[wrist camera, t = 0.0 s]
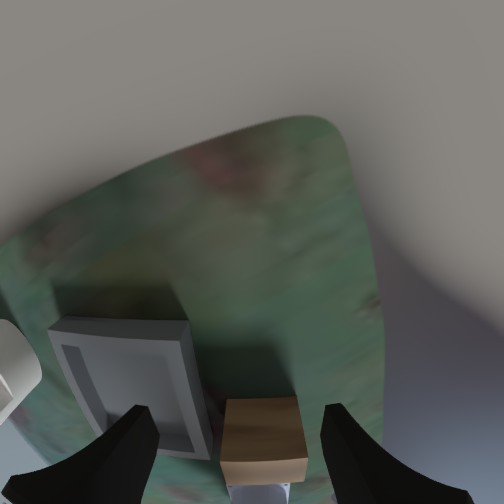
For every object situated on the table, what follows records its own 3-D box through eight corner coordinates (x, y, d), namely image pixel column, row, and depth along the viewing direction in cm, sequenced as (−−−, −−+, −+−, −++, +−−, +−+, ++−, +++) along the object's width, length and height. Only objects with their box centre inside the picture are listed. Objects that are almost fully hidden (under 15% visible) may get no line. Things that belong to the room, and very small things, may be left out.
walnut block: (294, 423, 22) (303, 481, 15) (231, 426, 22) (226, 484, 15) (296, 395, 21) (308, 457, 14) (226, 398, 21) (219, 461, 14)
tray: (213, 438, 22) (210, 460, 19) (110, 424, 22) (101, 441, 19) (189, 320, 19) (179, 340, 16) (65, 315, 19) (46, 329, 16)
